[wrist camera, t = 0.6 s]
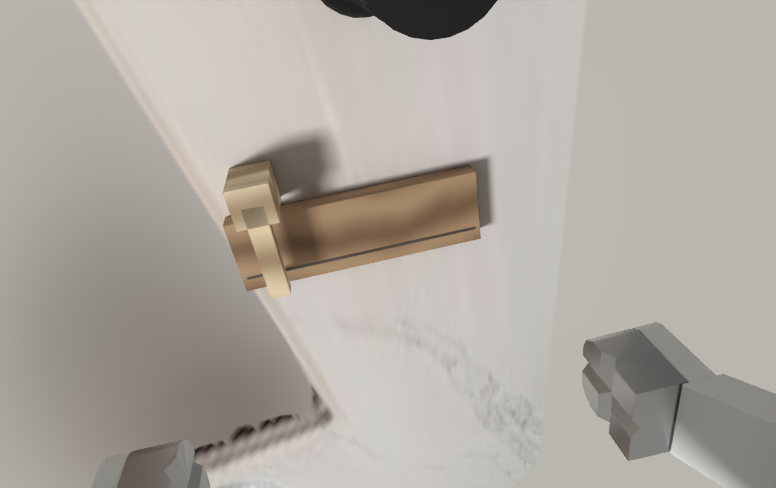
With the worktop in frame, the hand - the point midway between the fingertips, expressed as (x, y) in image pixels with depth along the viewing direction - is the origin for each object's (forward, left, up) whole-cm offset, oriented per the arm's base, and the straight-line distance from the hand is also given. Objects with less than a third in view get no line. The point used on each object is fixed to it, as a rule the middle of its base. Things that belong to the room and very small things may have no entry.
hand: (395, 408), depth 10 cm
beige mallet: (+15, -8, -41) cm, 45 cm away
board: (+18, +1, -41) cm, 45 cm away
